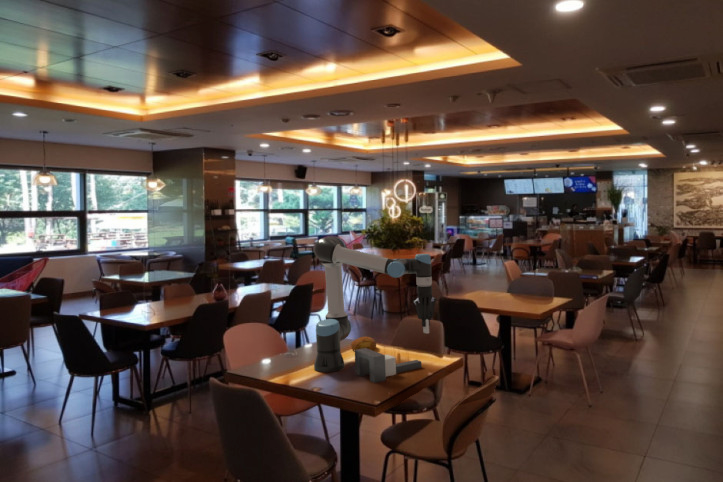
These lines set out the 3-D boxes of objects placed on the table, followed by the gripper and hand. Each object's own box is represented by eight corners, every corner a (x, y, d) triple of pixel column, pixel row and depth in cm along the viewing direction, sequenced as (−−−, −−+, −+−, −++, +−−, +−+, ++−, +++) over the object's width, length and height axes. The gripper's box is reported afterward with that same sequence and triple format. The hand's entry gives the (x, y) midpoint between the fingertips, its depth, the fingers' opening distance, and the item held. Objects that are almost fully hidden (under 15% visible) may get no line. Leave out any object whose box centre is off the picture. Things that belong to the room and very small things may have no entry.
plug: (374, 373, 256) (373, 357, 256) (414, 365, 268) (414, 349, 268) (382, 377, 250) (381, 360, 250) (423, 368, 262) (422, 351, 262)
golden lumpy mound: (376, 349, 312) (375, 335, 313) (377, 352, 297) (376, 337, 298) (351, 350, 312) (350, 336, 313) (350, 352, 296) (350, 338, 297)
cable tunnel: (355, 374, 257) (354, 350, 256) (366, 371, 260) (365, 348, 259) (374, 382, 242) (373, 357, 242) (385, 380, 245) (384, 355, 245)
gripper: (418, 287, 259) (420, 336, 260) (439, 284, 266) (441, 332, 267) (409, 286, 266) (411, 333, 267) (430, 283, 272) (432, 329, 274)
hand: (426, 332), depth 267 cm, fingers closed
